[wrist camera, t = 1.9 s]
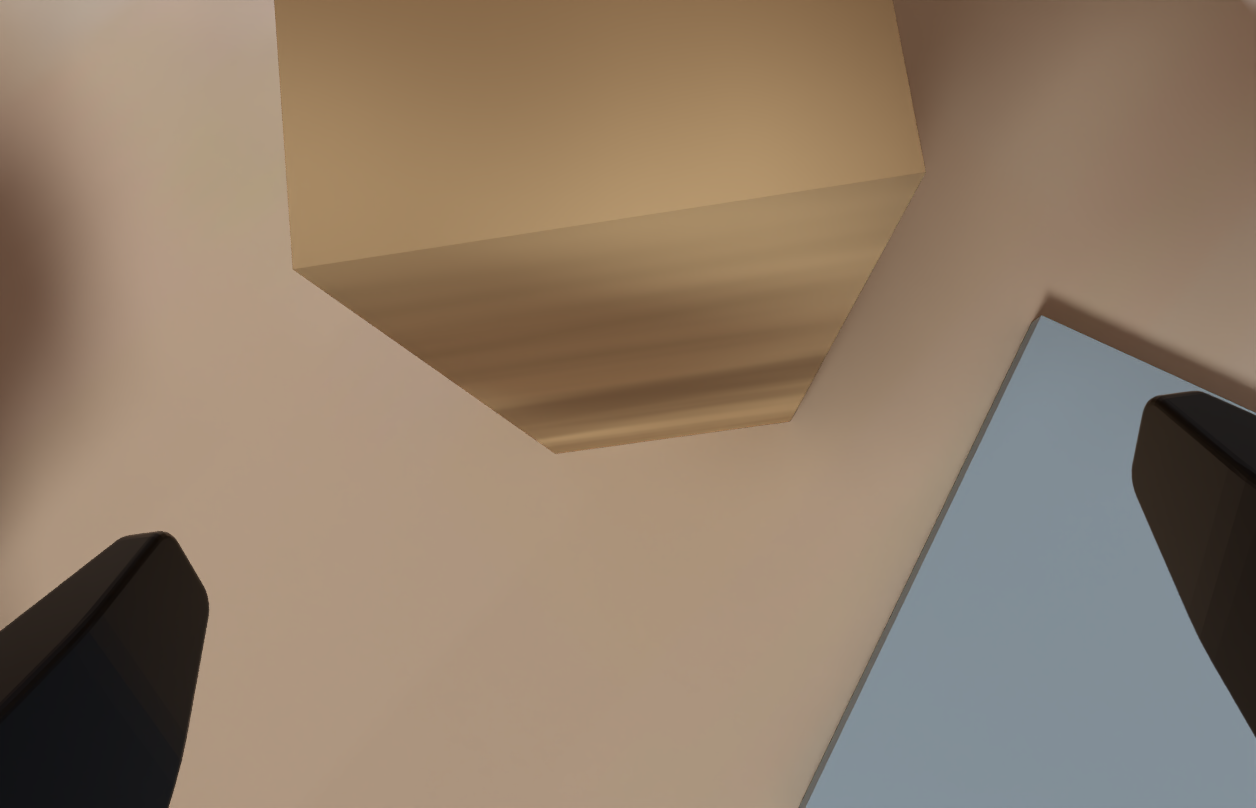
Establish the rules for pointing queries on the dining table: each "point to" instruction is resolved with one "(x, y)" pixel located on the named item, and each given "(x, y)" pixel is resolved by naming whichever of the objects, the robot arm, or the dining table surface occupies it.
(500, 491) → the dining table surface
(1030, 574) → the slate pad
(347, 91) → the oak block
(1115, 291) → the dining table surface
